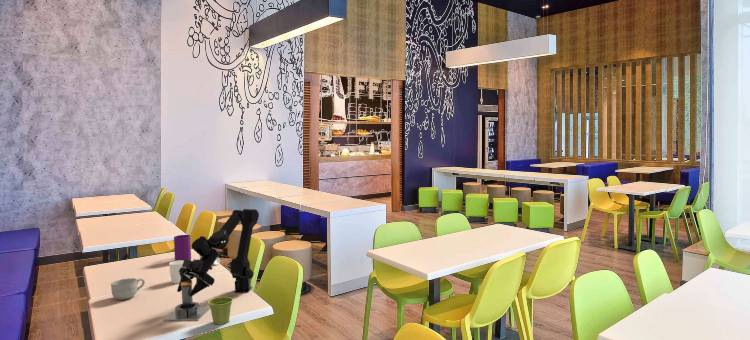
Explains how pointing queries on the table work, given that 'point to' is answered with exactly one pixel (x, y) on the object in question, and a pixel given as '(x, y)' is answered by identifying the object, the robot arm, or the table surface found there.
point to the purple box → (182, 247)
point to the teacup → (125, 288)
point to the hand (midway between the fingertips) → (184, 293)
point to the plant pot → (220, 309)
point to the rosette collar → (187, 313)
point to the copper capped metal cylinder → (186, 294)
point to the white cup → (175, 270)
